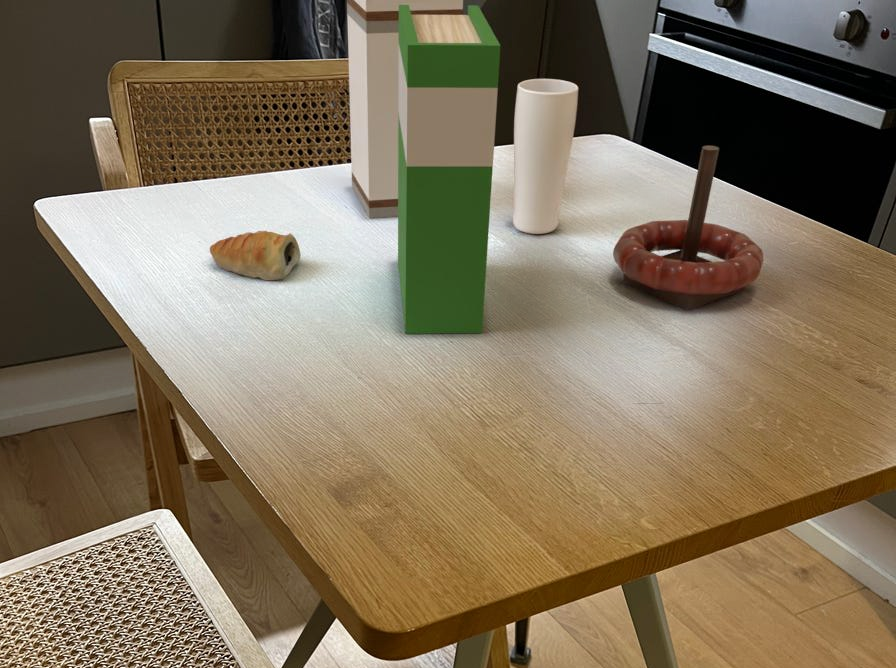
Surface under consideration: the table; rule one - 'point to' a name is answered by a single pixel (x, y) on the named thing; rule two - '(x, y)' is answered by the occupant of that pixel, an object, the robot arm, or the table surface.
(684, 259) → the peg stand
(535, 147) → the drinking glass
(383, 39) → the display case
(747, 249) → the ring
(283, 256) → the pastry
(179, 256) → the table surface
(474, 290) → the hardback book
